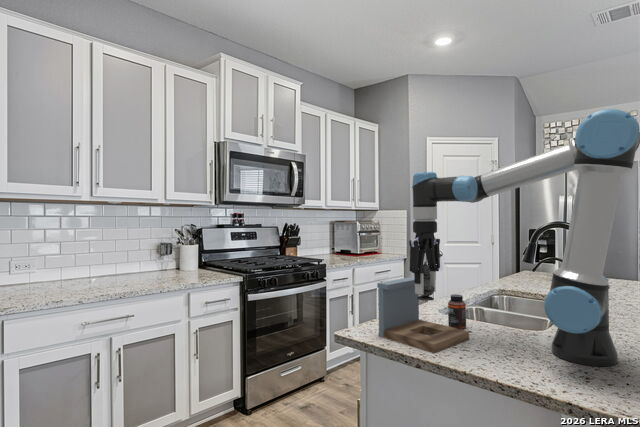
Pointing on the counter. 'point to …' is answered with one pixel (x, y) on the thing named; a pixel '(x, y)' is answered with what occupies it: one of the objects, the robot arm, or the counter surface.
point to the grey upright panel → (397, 303)
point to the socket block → (434, 343)
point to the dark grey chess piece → (426, 284)
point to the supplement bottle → (457, 312)
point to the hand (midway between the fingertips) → (425, 292)
